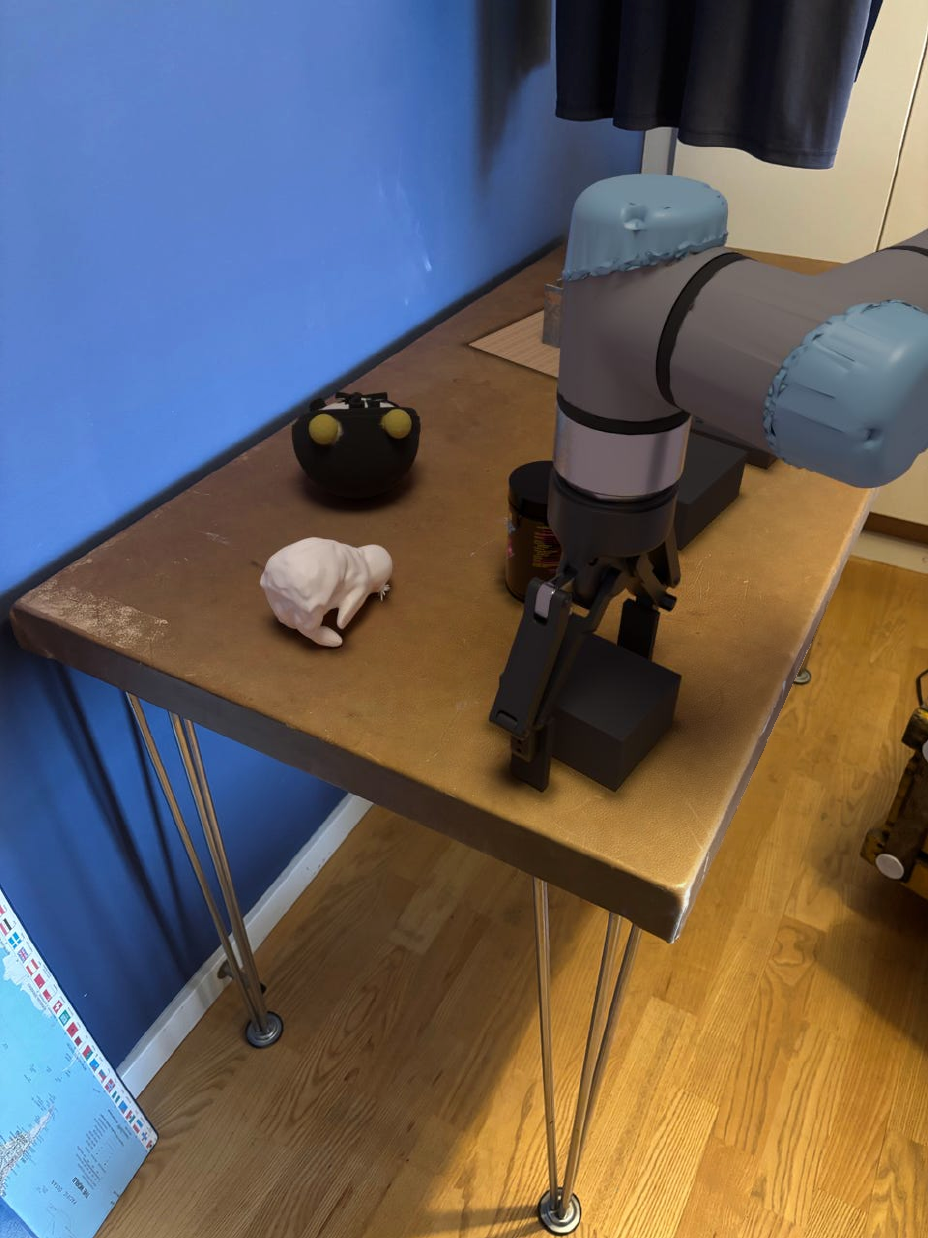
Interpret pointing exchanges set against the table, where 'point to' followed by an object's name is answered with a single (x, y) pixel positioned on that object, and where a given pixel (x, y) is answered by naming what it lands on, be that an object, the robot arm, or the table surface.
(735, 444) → the picture frame
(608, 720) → the top pad
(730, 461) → the dark rectangular box
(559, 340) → the architectural model on board
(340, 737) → the table surface
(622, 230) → the robot arm
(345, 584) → the white clay creature
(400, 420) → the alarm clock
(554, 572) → the supplement container
